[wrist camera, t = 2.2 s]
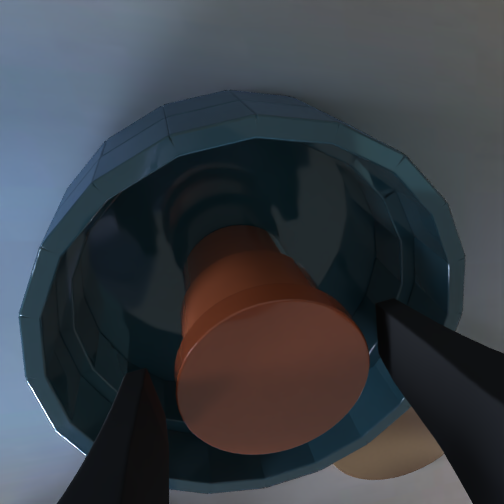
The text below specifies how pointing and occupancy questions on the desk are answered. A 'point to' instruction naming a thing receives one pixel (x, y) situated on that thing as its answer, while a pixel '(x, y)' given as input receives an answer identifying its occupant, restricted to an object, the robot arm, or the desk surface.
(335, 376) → the flower pot
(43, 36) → the desk surface
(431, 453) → the coaster
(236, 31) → the desk surface
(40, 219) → the desk surface
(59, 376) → the bowl
